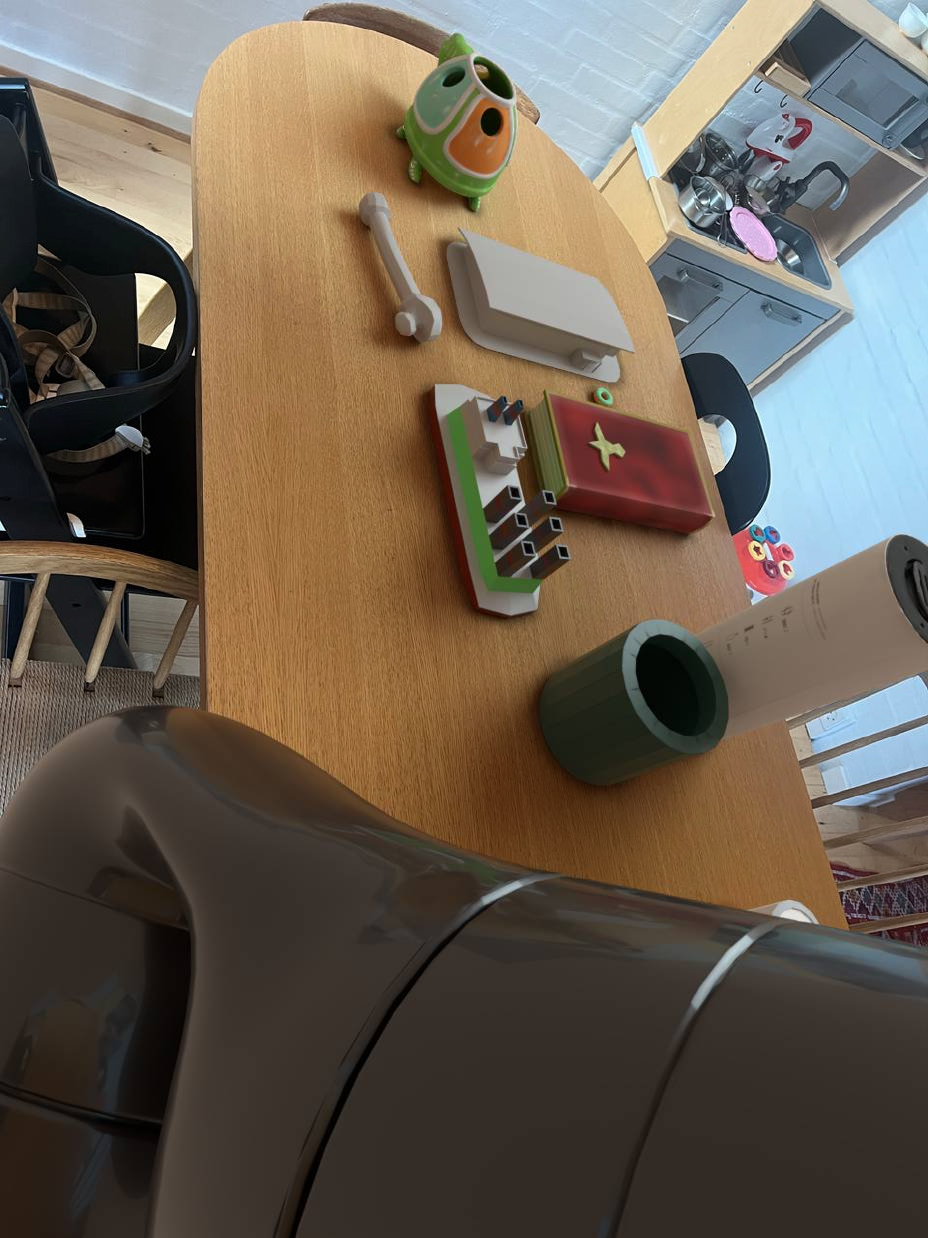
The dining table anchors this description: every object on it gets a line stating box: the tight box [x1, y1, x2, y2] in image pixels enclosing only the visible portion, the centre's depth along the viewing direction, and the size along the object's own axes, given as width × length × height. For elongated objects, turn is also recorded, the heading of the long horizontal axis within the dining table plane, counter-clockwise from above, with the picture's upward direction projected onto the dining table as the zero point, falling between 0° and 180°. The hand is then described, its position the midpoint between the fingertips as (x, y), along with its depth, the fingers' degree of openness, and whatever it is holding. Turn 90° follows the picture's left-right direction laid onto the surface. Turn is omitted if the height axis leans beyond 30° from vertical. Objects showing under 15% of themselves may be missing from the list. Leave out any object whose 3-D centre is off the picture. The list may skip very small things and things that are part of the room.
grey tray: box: [445, 226, 636, 384], centre depth 89 cm, size 15×23×4 cm, turn 101°
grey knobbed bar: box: [358, 191, 443, 343], centre depth 78 cm, size 18×5×4 cm, turn 17°
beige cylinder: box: [693, 532, 928, 742], centre depth 67 cm, size 11×10×26 cm
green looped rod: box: [593, 387, 614, 408], centre depth 91 cm, size 2×10×1 cm, turn 79°
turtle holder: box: [396, 32, 519, 212], centre depth 89 cm, size 12×18×12 cm
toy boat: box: [428, 383, 572, 619], centre depth 71 cm, size 8×25×8 cm, turn 12°
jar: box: [539, 618, 729, 787], centre depth 65 cm, size 11×11×11 cm
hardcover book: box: [523, 388, 716, 535], centre depth 84 cm, size 12×21×4 cm, turn 99°
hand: (504, 1021), depth 42 cm, fingers open, 8 cm apart
